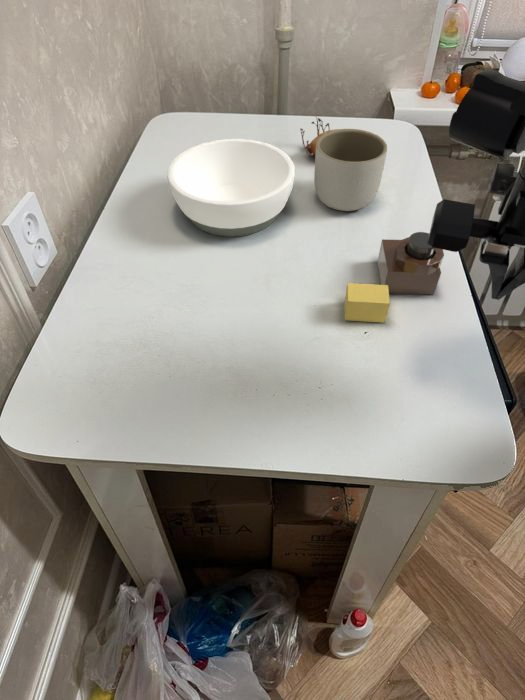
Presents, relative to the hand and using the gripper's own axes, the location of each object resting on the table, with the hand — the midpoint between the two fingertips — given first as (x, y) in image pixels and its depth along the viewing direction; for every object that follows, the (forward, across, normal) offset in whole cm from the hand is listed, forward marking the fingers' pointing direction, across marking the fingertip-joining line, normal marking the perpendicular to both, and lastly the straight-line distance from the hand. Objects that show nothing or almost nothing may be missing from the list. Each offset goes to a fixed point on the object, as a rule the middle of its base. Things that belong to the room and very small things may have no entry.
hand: (494, 296), depth 59 cm
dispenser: (+13, +10, -16) cm, 23 cm away
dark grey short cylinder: (+7, +9, -15) cm, 19 cm away
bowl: (+13, +44, -25) cm, 52 cm away
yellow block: (+13, +15, -6) cm, 21 cm away
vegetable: (+13, +30, -52) cm, 61 cm away
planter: (+13, +25, -35) cm, 45 cm away
